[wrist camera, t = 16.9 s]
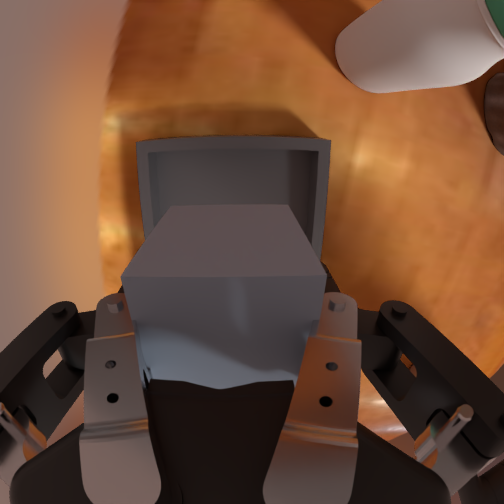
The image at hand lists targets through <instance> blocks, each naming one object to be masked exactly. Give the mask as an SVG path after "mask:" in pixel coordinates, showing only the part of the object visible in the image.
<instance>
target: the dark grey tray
mask: <svg viewBox="0 0 504 504" xmlns="http://www.w3.org/2000/svg"><path fill="white" fill-rule="evenodd" d="M330 148H331V140H327V139H323V138H315V137H299V136H278V135H207V136H186V137H171V138H158V139H148V140H143V141H139V142H136V151H137V167H138V180H139V192H140V202H141V211H142V220H143V228H144V236H145V240H146V239H147V237H148V236H149V235H150V233H151V232H152V230H153V229H154V228H155V226H156V225H157V224H158V222H159V221H160V220H161V218H162V217H163V216H164V214H165V213H166V212H167V210H168V209H169V208H170V206H185V205H235V204H280V205H289V207H290V209H291V211H292V212H293V214H294V216H295V218H296V219H297V221H298V223H299V225H300V226H301V228H302V230H303V232H304V234H305V235H306V237H307V239H308V241H309V243H310V244H311V246H312V248H313V250H314V252H315V253H316V255H317V257H318V259H319V261H320V258H321V250H322V242H323V233H324V223H325V213H326V203H327V191H328V179H329V165H330Z"/></svg>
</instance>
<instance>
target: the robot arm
mask: <svg viewBox="0 0 504 504" xmlns="http://www.w3.org/2000/svg"><path fill="white" fill-rule="evenodd" d="M320 263H321V265H322V266H323V268H324V270H325V272H326V274H327V279H326V286H325V292H324V298H323V304H322V310H321V315H320V320H313V322H312V327H311V331H310V332H309V336H308V340H307V344H306V348H305V352H304V356H303V360H302V364H301V367H300V371H299V375H298V379H297V382H296V386H295V387H294V382H293V380H282V381H260V382H254V383H249V384H245V385H240V386H235V387H230V388H225V389H215V388H211V387H207V386H202V385H198V384H194V383H190V382H186V381H177V380H162V379H154V378H153V375H152V372H151V369H147V366H146V363H145V360H144V356H143V352H142V347H141V341H140V333H139V329H138V326H137V322H136V320H131V316H130V313H129V309H128V305H127V301H126V297H125V293H124V289H123V285H122V286H121V288H120V290H119V291H118V293H115V294H111V295H108V296H106V297H104V298H103V299H101V300H100V301H99V302H98V304H97V308H96V310H94V311H88V312H81V313H78V310H77V308H76V305H75V304H74V303H72V302H69V301H62V302H58V303H55V304H53V305H51V306H50V307H49V308H48V309H46V310H45V311H44V312H43V313H42V314H41V315H40V316H39V317H37V318H36V319H35V320H34V321H33V322H32V323H31V324H30V325H29V326H28V327H27V328H25V329H24V330H23V331H22V332H21V333H20V334H19V335H18V336H17V337H16V338H15V339H14V340H13V341H12V342H11V343H10V344H9V345H8V346H7V347H6V348H5V349H4V350H3V351H2V352H1V353H0V478H1V479H2V480H3V481H4V482H5V483H6V484H7V485H8V486H9V487H10V491H9V494H10V504H451V496H452V495H453V494H455V493H456V491H458V493H459V496H460V500H461V503H462V504H504V459H503V460H502V461H501V462H499V463H498V464H497V465H495V466H494V467H492V468H491V469H490V470H488V471H487V472H485V473H484V474H482V475H481V476H479V477H478V476H477V473H479V472H480V471H481V470H483V469H484V468H485V467H486V466H488V465H489V464H490V463H491V462H492V461H494V460H495V459H496V458H497V457H498V456H499V455H501V454H502V453H503V452H504V393H503V392H502V391H501V390H500V389H499V388H498V387H497V386H496V385H495V384H494V383H493V382H492V381H491V380H490V379H489V378H488V377H487V376H486V375H485V374H484V373H483V372H482V371H481V370H480V369H479V368H478V367H477V366H476V365H475V364H474V363H473V362H472V361H471V360H470V359H469V358H468V357H466V356H465V355H464V354H463V353H462V352H461V351H460V350H459V349H458V348H457V347H456V346H455V345H454V344H453V343H452V342H451V341H449V340H448V339H447V338H446V337H445V336H444V335H443V334H442V333H441V332H440V331H439V330H437V329H436V328H435V327H434V326H433V325H432V324H431V323H430V322H428V321H427V320H426V319H425V318H424V317H423V316H422V315H421V314H419V313H418V312H417V311H416V310H415V309H414V308H413V307H411V306H410V305H408V304H406V303H404V302H401V301H394V300H392V301H386V302H384V303H383V304H382V305H381V307H380V310H379V312H376V311H369V310H362V309H359V308H357V303H356V301H355V300H354V299H353V298H352V297H350V296H348V295H346V294H343V293H341V292H340V290H339V289H338V287H337V285H336V283H335V281H334V279H333V278H332V276H331V274H330V273H329V270H328V269H327V267H326V265H325V264H323V263H322V262H321V261H320ZM57 349H58V351H59V352H60V355H61V357H62V361H61V362H60V363H59V364H58V365H57V366H56V368H55V369H54V370H53V371H52V372H51V373H50V375H49V376H48V377H47V378H46V379H45V377H44V375H43V366H44V364H45V362H46V361H47V360H48V359H49V358H50V357H51V356H52V355H53V353H54V352H55V351H56V350H57ZM403 353H404V355H405V356H406V357H407V358H408V359H409V360H410V361H411V362H412V363H413V365H412V367H411V368H410V370H409V369H408V368H407V367H406V366H405V365H404V364H403V362H402V361H401V360H400V358H401V356H402V354H403ZM361 368H362V371H363V373H364V374H365V376H366V377H367V378H368V379H369V381H370V382H371V383H372V385H373V386H374V387H375V389H376V390H377V391H378V393H379V394H380V395H381V397H382V398H383V399H384V400H385V402H386V403H387V404H388V406H389V407H390V408H391V410H392V411H393V412H394V414H395V415H396V416H397V418H398V419H399V420H400V422H401V423H402V424H403V426H404V427H405V428H406V430H407V431H408V432H409V434H410V435H411V436H412V438H413V439H414V440H415V445H414V451H415V455H416V456H415V459H413V458H411V457H410V456H408V455H407V454H405V453H404V452H402V451H401V450H399V449H398V448H396V447H395V446H393V445H391V444H390V443H388V442H387V441H385V440H384V439H382V438H381V437H379V436H378V435H376V434H375V433H374V432H372V431H371V430H369V429H368V428H366V427H365V426H363V425H362V424H360V423H359V422H358V421H357V419H358V408H359V394H360V376H361ZM83 390H84V423H82V424H81V425H80V426H78V427H77V428H75V429H74V430H72V431H71V432H70V433H68V434H67V435H65V436H64V437H63V438H61V439H59V440H58V441H57V442H55V443H54V444H52V445H51V446H49V447H48V448H46V447H47V440H48V439H49V437H50V436H51V434H52V433H53V432H54V430H55V429H56V427H57V426H58V424H59V423H60V422H61V420H62V418H63V417H64V416H65V414H66V413H67V412H68V410H69V409H70V408H71V406H72V405H73V403H74V402H75V401H76V399H77V398H78V397H79V395H80V394H81V392H82V391H83Z"/></svg>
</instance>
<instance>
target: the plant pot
mask: <svg viewBox="0 0 504 504" xmlns="http://www.w3.org/2000/svg"><path fill="white" fill-rule="evenodd" d="M484 109H485V119H486V124H487V128H488V131H489V132H490V133H491V135H492V138H493V144H494V146H495V147H496V149H497V150H498V151H499V152H500V153H501V154H502V155H504V72H503V73H497V74H495V76H494V77H493V78H492V79H490V80H489V82H488V84H487V87H486V91H485V100H484Z"/></svg>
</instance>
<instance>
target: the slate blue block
mask: <svg viewBox="0 0 504 504" xmlns="http://www.w3.org/2000/svg"><path fill="white" fill-rule="evenodd" d="M326 279H327V274H326V272H325V270H324V268H323V266H322V265H321V263H320V261H319V259H318V257H317V255H316V253H315V252H314V250H313V248H312V246H311V244H310V243H309V241H308V239H307V237H306V235H305V234H304V232H303V230H302V228H301V226H300V225H299V223H298V221H297V219H296V218H295V216H294V214H293V212H292V211H291V209H290V207H289V205H280V204H235V205H185V206H170V208H169V209H168V210H167V212H166V213H165V214H164V216H163V217H162V218H161V220H160V221H159V222H158V224H157V225H156V226H155V228H154V229H153V230H152V232H151V233H150V235H149V236H148V237H147V239H146V240H145V242H144V243H143V244H142V246H141V247H140V249H139V250H138V252H137V253H136V254H135V256H134V257H133V259H132V260H131V262H130V263H129V265H128V266H127V268H126V269H125V271H124V272H123V274H122V275H121V280H122V285H123V289H124V293H125V297H126V301H127V305H128V309H129V313H130V316H131V320H136V322H137V326H138V329H139V333H140V341H141V347H142V352H143V356H144V360H145V363H146V366H147V369H151V372H152V375H153V378H154V379H162V380H177V381H186V382H190V383H194V384H198V385H202V386H207V387H211V388H215V389H225V388H230V387H235V386H240V385H245V384H249V383H254V382H260V381H282V380H293V382H294V387H295V386H296V382H297V379H298V375H299V371H300V367H301V364H302V360H303V356H304V352H305V348H306V344H307V340H308V336H309V332H310V331H311V327H312V322H313V320H320V315H321V310H322V304H323V298H324V292H325V286H326Z"/></svg>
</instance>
